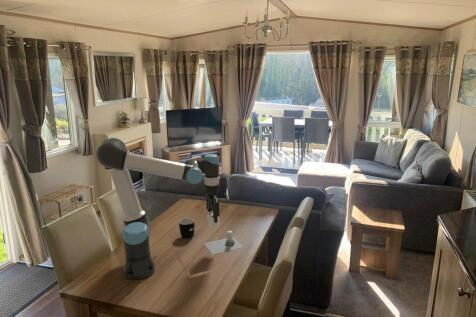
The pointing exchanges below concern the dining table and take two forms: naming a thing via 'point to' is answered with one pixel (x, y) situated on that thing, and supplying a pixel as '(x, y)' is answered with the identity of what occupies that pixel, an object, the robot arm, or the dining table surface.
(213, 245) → the post board
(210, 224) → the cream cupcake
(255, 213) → the dining table surface
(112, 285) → the dining table surface
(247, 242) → the dining table surface
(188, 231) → the mug
